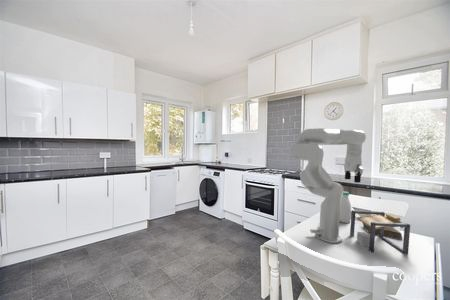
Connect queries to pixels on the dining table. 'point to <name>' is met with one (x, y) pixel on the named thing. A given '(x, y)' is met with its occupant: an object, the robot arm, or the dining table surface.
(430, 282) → the dining table surface
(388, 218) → the trapdoor
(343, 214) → the milk bottle
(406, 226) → the frame
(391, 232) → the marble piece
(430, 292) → the dining table surface
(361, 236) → the granite block
